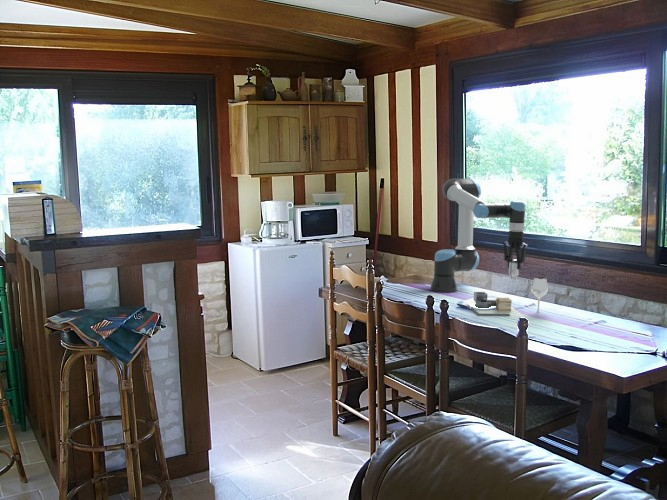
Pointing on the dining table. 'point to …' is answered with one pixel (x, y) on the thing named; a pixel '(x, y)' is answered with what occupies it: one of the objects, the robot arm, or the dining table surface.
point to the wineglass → (539, 288)
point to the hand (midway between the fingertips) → (513, 274)
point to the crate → (503, 304)
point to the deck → (496, 312)
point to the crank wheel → (483, 300)
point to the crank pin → (513, 268)
